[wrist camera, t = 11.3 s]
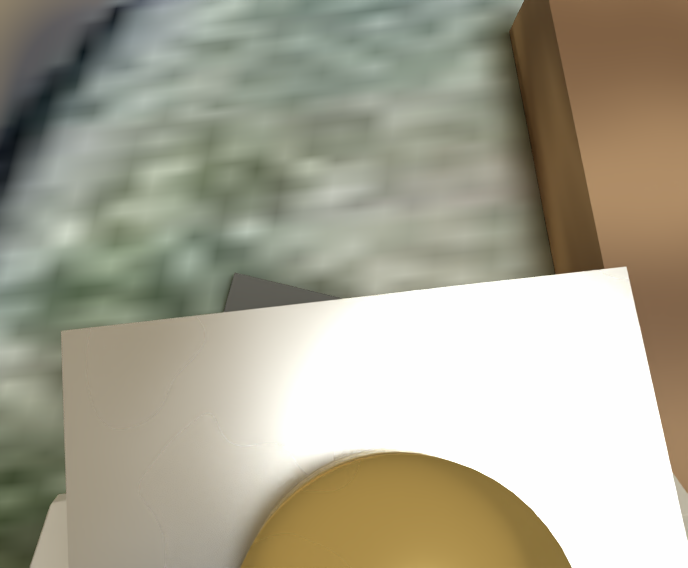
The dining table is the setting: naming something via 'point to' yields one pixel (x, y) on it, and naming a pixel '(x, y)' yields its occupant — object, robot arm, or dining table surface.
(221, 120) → the dining table surface
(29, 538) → the dining table surface
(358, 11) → the dining table surface
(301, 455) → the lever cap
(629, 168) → the body
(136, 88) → the dining table surface
